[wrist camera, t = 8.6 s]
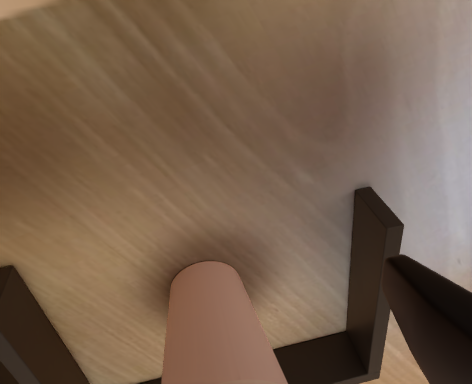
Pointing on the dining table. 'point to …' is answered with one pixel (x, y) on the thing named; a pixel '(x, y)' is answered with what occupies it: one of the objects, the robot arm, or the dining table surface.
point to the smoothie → (215, 331)
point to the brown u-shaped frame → (289, 358)
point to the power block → (6, 376)
